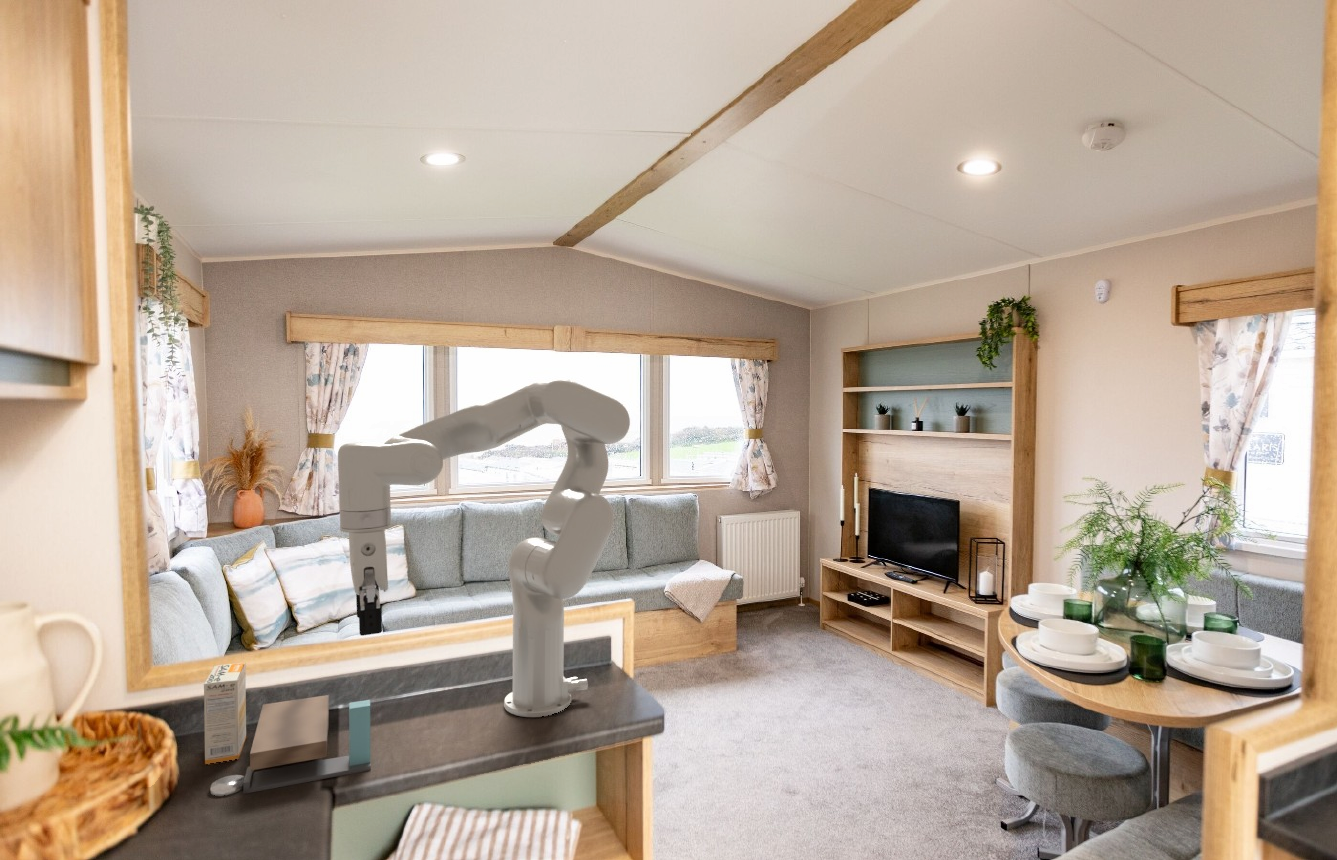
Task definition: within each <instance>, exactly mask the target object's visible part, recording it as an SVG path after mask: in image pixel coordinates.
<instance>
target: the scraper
mask: <svg viewBox="0 0 1337 860" xmlns="http://www.w3.org/2000/svg"><path fill="white" fill-rule="evenodd" d="M348 707H349V709H348V710H349V711H348V714H349V715H348V722H349V723H348V724H349V728H348V729H349V732H348V733H349V734H348V735H349V737H348V747H349V748H348V753H349V754H348V755H343V756H342V755H341V756H337V757H332V758H327V759H321V760H320V759H319V760H315V761H311V762H310V761H309V762H303V763H297V764H293V765H288V766H282V767H276V768H271V769H270V768H269V769H264V770H258V771H255V770H250V765H249V766H247V768H246V771H245V775H244V777H245V779H244V782H243V789H242V790H243V792H242V793H243V795H244V794H250V793H254V792H260V791H266V790H271V789H276V788H283V787H286V786H293V785H298V784H303V783H308V782H313V781H318V780H324V779H330V778H335V777H340V776H346V775H350V774H355V773H356V774H357V773H362V772H366V771H367V772H368V771H371V768H372V767H371V765H372V764H371V699H366V700H365V699H364V700H360V701H352V702H349V703H348Z"/></svg>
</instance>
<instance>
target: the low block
mask: <svg viewBox="0 0 1337 860" xmlns="http://www.w3.org/2000/svg"><path fill="white" fill-rule="evenodd" d="M329 696H330V694H328V695H327V694H326V695H319V696H313V697H312V696H311V697H306V698H298V699H291V700H285V701H278V702H270V703H263V704H262V707H261V710H260V714H259V718H258V721H257V726H256V729H255V733H254V737H253V741H252V745H251V748H250V753H249V766H250V770H254V771H255V770H261V769H266V768H272V767H279V766H283V765H289V764H295V763H300V762H306V761H311V760H317V759H324V758H327V757H328V756H327V755H328V752H327V751H328V748H327V747H328V735H329V734H328V733H329V726H330V724H329V723H330V721H329V717H330V715H329V714H330V712H329V709H330V708H329V702H330V701H329V698H330V697H329Z"/></svg>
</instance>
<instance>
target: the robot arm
mask: <svg viewBox="0 0 1337 860" xmlns="http://www.w3.org/2000/svg"><path fill="white" fill-rule="evenodd" d="M545 424H546V425H547V424H549V425H555V424H556V425H560V426H561V430H562V434H563V435H564V438H565V441H566V445H567V459H566V462H565V464H564V466H563V469H562V471H561V473H560V475H559V476H558V479H557V481H556V482H555V484H554V486H553V488H552V490H551V492H550V494H549V496H548V497H547V499H546V501H545V503H544V505H543V508H542V510H541V514H540V521H541V523H542V526H543V528H544V529H545V530H546V531H548V532H549V533H550V534H552V535H555V536H558V537H557V539H556V541H554V540H552V539H547V538H543V537H529V538H526V539H524V540H522V541H521V542H518V543H517V545H516V546H515V547H514V549H513V550H512V552H511V554H510V557H509V560H508V561H509V562H508V576H509V581H510V583H509V584H510V586H511V587H510V590H511V596H512V691H511V692H509V693H508V694H507V695H506V696H505V697H504V699H503V707H504V709H505V710H506V711H507V712H508V713H509V714H511V715H513V716H519V717H522V718H523V717H524V718H541V717H542V716H544V717H549V716H553V715H552V714H554V713H557V714H559V713H561V712H563V711H565V710H566V709H565V708H567V707H568V706H569V705H571V704H572V693H573V692H575V691H584V690H589V689H588V688H589V681H588V679H587V678H584V679H578V677H577V676H573V677H569V678H566V677H565V676H564V656H565V655H564V651H565V650H564V649H565V648H564V643H565V642H564V637H565V636H564V635H565V632H564V630H565V629H564V628H565V626H564V625H565V609H564V608H565V607H564V600H567V599H571V598H573V597H574V596H576V595H577V594H579V592H581V590H582V589H584V587H585V586H586V584H587V582H588V581H589V579H590V577H591V575H592V573H593V571H594V569H595V567H596V565H597V562H598V561H599V559H600V557H601V555H602V552H603V550H604V548H605V547H606V544H607V542H608V540H609V537H610V535H611V533H612V530H613V527H614V513H613V511H614V510H613V508H612V506H611V505H612V504H611V503H610V501H608V499H607V498H605V496H603V495H600V493H601V491H602V488H603V486H604V483H605V481H606V479H607V476H608V473H609V458H608V457H609V456H608V451H607V447H606V445H611V444H616V443H618V442H620V441H621V440H623V439H624V438H625V437H626V435H627V434H628V432H629V429H630V426H631V425H630V424H631V419H630V415H629V412H628V410H627V408H626V407H625V406H624V404H622V403H621V402H620V401H618V400H617V399H615V398H612V397H610V396H608V395H605V394H603V393H600V392H598V391H596V390H593V389H591V388H590V387H587V386H584V385H583V384H580V383H578V382H575V381H573V380H570V379H567V378H563V377H541V378H533V379H530V380H528V381H524V382H522V383H520V384H518V385H516V386H513V387H511V388H508V389H507V390H504V391H502V392H501V393H500V392H499V393H498V394H496V395H493V396H492V397H488V398H487V399H484V400H482V401H480V402H478V403H475V404H473V405H470V406H468V407H464V408H461V409H459V410H456V411H454V412H452V413H449V414H446V415H444V416H441V417H437V418H436V419H435V418H434V419H432V420H430V421H428V422H425V423H423V424H420V425H417V426H415V427H412V428H411V429H408V430H407V431H403V432H402V433H400V434H397V435H395V436H393V437H391V438H389V439H388V440H387V441H386V442H384V443H383V442H379V441H378V442H377V441H364V442H363V441H360V442H357V441H356V442H348V443H345V444H343V445H341V446H340V447H339V448H338V452H337V466H338V467H337V472H338V473H337V474H338V500H339V501H338V502H339V503H338V504H339V505H338V506H339V531H340V532H343V533H348V546H349V547H348V549H349V562H350V572H351V578H352V585H353V589H354V593H355V596H356V597H355V599H356V600H355V601H356V617H357V619H358V622H359V623H358V624H359V625H358V627H359V628H358V629H359V636H368V635H369V636H370V635H375V634H380V633H382V632H383V613H382V606H381V600H380V591H383V593H385V592H388V590H389V582H388V581H389V580H388V558H387V556H388V555H387V541H386V539H387V538H386V531H385V530H389V529H390V528H392V511H391V509H392V507H391V486H392V485H396V486H397V485H401V486H402V485H403V486H423V485H425V484H429V483H431V482H433V481H434V480H435V479H437V477H439V475H440V474H441V472H442V469H443V466H444V460H447V459H449V458H453V457H456V456H460V455H464V454H465V455H466V454H469V453H470V454H471V453H478V452H485V451H488V450H492V449H496V448H498V447H500V446H502V445H505V444H506V443H508V442H510V441H512V440H513V439H516V438H518V437H520V436H522V435H523V434H526V433H528V432H530V431H533V430H534V429H536V428H538V427H540V426H542V425H545ZM570 703H571V704H570ZM569 707H570V706H569ZM569 707H568V708H569ZM564 709H565V710H564ZM562 710H563V711H562ZM560 711H561V712H560ZM558 712H559V713H558ZM548 715H549V716H548ZM554 715H555V714H554Z"/></svg>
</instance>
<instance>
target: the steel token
mask: <svg viewBox="0 0 1337 860" xmlns="http://www.w3.org/2000/svg"><path fill="white" fill-rule="evenodd" d="M244 779H245V775H241V774H233V775H232V774H231V775H226V776H223V777H220V778H219V779H216V780H215V781H213V782H212V783H211V785H210V789H209V790H210V794H211V795H212V796H214V795H215V796H216V797H223V796H224V795H225V796H229V795H233V794H236V793H237V792H239V791H241V790H243V782H244Z"/></svg>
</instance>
